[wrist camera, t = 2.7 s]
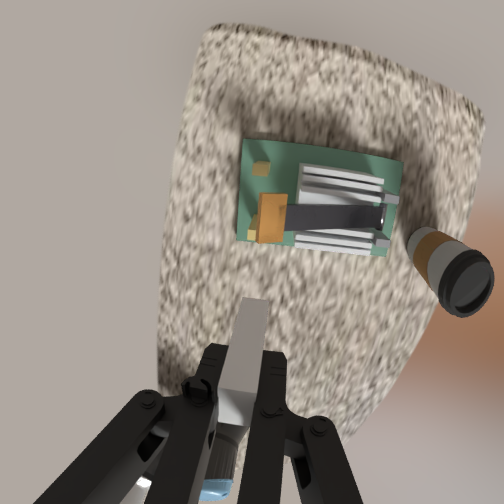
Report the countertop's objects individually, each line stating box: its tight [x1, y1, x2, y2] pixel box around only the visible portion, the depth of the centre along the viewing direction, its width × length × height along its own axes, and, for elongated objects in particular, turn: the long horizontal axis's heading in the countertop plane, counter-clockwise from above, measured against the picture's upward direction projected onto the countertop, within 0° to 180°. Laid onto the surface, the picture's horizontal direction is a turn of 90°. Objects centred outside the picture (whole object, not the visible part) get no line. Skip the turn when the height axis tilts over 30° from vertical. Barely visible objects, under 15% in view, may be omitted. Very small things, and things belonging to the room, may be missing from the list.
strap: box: [255, 192, 388, 244], centre depth 27 cm, size 16×4×1 cm, turn 85°
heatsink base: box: [236, 139, 404, 257], centre depth 32 cm, size 22×14×9 cm, turn 86°
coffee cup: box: [407, 227, 494, 318], centre depth 30 cm, size 8×8×15 cm
